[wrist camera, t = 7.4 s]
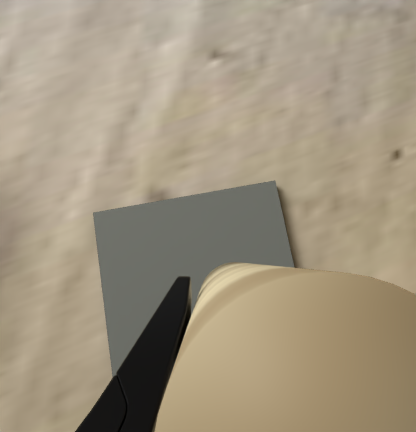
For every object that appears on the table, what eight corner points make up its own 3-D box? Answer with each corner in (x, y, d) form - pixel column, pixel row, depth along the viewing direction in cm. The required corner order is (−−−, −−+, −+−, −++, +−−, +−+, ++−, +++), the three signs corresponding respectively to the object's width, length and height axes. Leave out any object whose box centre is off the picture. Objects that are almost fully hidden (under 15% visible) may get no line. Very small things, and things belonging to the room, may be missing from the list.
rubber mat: (312, 368, 20) (318, 374, 19) (121, 404, 20) (117, 412, 19) (272, 183, 22) (275, 180, 21) (98, 214, 22) (93, 212, 21)
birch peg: (287, 305, 15) (619, 503, 3) (230, 354, 15) (328, 819, 3) (240, 247, 16) (351, 203, 3) (184, 293, 15) (76, 431, 3)
